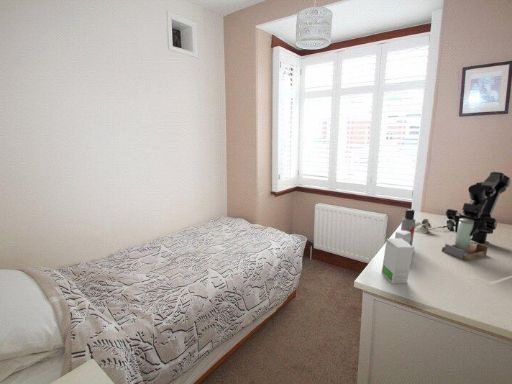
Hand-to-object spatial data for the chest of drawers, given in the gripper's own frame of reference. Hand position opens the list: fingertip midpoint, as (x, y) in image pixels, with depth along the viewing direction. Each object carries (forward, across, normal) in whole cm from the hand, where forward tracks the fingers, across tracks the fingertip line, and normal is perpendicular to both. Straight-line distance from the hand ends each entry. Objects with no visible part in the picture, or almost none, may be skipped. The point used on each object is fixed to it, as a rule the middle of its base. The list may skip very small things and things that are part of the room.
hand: (463, 233), depth 126 cm
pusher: (+10, -1, +5) cm, 11 cm away
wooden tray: (+5, +1, +10) cm, 12 cm away
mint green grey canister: (+4, 0, +6) cm, 7 cm away
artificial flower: (-9, -20, +25) cm, 34 cm away
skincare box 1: (+24, -16, -8) cm, 30 cm away
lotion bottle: (+16, -19, 0) cm, 25 cm away
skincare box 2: (+38, -8, -23) cm, 45 cm away
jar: (+2, +2, +12) cm, 13 cm away
